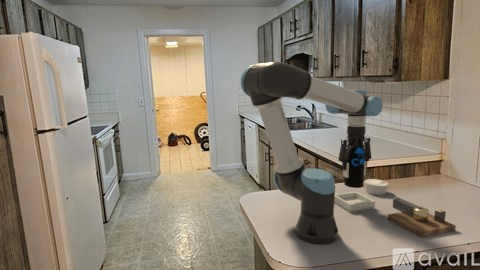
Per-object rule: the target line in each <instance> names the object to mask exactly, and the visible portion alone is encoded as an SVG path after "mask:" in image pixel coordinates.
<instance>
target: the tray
mask: <svg viewBox="0 0 480 270" xmlns="http://www.w3.org/2000/svg"><path fill="white" fill-rule="evenodd" d="M334 205H337V206H339V207H340V208H341V209H343V210H345V211H346V212H348V213H350V214H351V213H356V212H362V211H368V210H375V209H376V208H375V207H376V200H374V199H372V198H370V197H368V196H365V195H364V194H362V193H360V192H357V191H349V192H343V193H335V198H334Z"/></svg>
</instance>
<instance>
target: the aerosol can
mask: <svg viewBox="0 0 480 270" xmlns="http://www.w3.org/2000/svg"><path fill="white" fill-rule="evenodd" d="M364 149H365V148H364ZM364 149H363V148H361V147H359V146H357V147H354V149H352V150H351V151H350V152H349V153H350V157H349V160H348V162H347V163H349V175H348V178H346V177H344V178H345V179H344V184H343V185H345V187H348V188H353V189H355V188H356V189H359V188H364V187H365V183H364V177H365V176H364V158H365V150H364Z"/></svg>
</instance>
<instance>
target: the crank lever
mask: <svg viewBox="0 0 480 270" xmlns="http://www.w3.org/2000/svg"><path fill="white" fill-rule="evenodd" d="M392 208H393V209H395V210H397V211H398V212H403V213H405V214H407V215H409V216H411V217H413V218H414V219H415V220H417V221H421V222H427V221H428V216H429V214H430V209H428V208H426V207H424V206H420V205H417V204H415V203H412V202H410V201H407V200H405V199H404V198H403V199H402V198H401V197H396V196H395V197H394V196H393V197H392Z"/></svg>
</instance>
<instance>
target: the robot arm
mask: <svg viewBox="0 0 480 270" xmlns="http://www.w3.org/2000/svg"><path fill="white" fill-rule="evenodd" d="M240 88H241V90H242V91H243V93H244V94H245V95H246V96H248V97H249V98H250V101H251V103H252V106H253V107H255V108H256V109H258V112H259V114H260V117H261V120H262V124H263V126H264V129H265V132H266V135H267V138H268V141H269V144H270V147H271V150H272V154H273V156H274V160H275V162H276V165H274V174H273V182H274V185H275V186H276V188H277V189H278V190H279V191H280V192H282V193H283V194H285V195H287V196H290V197H291V198H294V199H296V200H298V201H300V213H299V216H298V219H297V222H296V226H295V235H296V236H297V238H299V239H301V240H302V241H304V242H306V243H310V244H314V245H315V244H316V245H326V244H332V243H334V242H336V241H337V240H338V238H339V228H338V226H337V222H336V219H335V216H334V214H335V203H334V198H335V194H336V184H335V183H336V182H335V177H334V175H333V174H332V173H330V172H329V171H327V170H325V169H322V168H321V169H318V168H316V167H315V168H314V167H313V168H312V167H311V168H306V165H305V162H304V158H301V157H299V156H298V153H297V150H296V146H295V143H294V139H293V136H292V133H291V130H290V126H289V124H288V120H287V117H286V113H285V109H284V108H283V107H284V106H283V104H282V100H283V98H290V99H291V98H292V99H296V100H298V101H299V100H302V99H306V100H309V101H313V102H315V103H316V102H318V103H320V104H323V105H325V110H326V111H327V113H329V114H332V115H338V114H343V115H347V122H346V123H347V126H346V134H347V137H346V138H341V139H340V149H339V154H338V162H341V165H342V167H341V168H342V169H341V170H342V176H343V177H344V178H345V177H346V178H348V175H349V163H347V162H348V160H349V157H350V153H349V152H350V151H351V150H352V149H354V147H357V146H359V147H361V148H363V149H364V150H365V158H364V177H365V176H366V172H367V167H368V162H370V160H372V151H371V150H372V149H371V140H372V139H371V138H370V137H368V136H365V135H366V125H367V117H377V116H379V115H380V114H381V112H382V111H383V106H384V105H383V104H384V103H383V100H382V99H381V98H380V97H379V96H376V95H368V91H367V90H366V89H349V88H346V87H344V86H340V85H337V84H335V83H332V82H328V81H326V80H324V79H320V78H317V77H315V76H312V74H311V73H310V72H309V71H307V70H305V69H302V68H299V67H296V66H294V65H291V64H288V63H285V62H280V61H270V62H262V63H259V62H257V63H254V64H252V65H250V66H248V67H246V68H245V70H244V71H243V73H242V74H241V77H240Z"/></svg>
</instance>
